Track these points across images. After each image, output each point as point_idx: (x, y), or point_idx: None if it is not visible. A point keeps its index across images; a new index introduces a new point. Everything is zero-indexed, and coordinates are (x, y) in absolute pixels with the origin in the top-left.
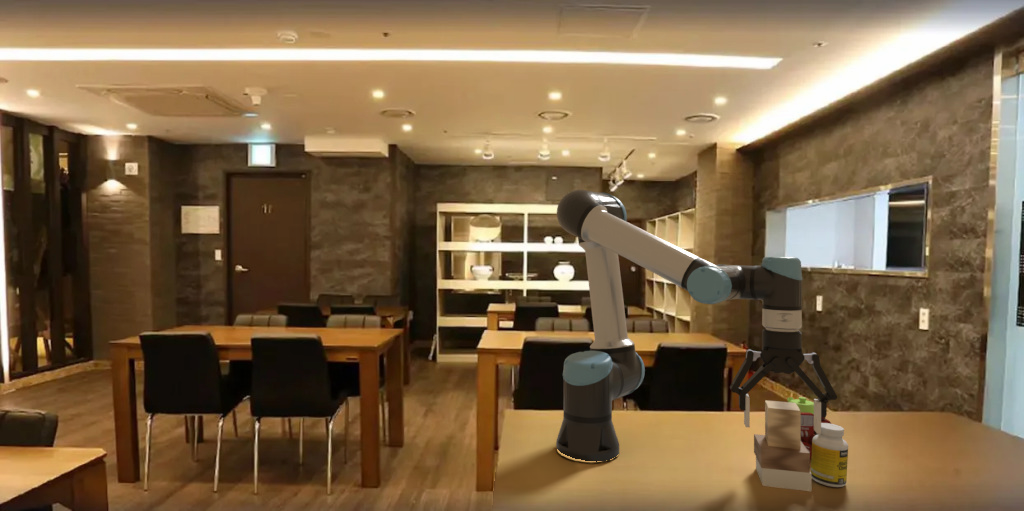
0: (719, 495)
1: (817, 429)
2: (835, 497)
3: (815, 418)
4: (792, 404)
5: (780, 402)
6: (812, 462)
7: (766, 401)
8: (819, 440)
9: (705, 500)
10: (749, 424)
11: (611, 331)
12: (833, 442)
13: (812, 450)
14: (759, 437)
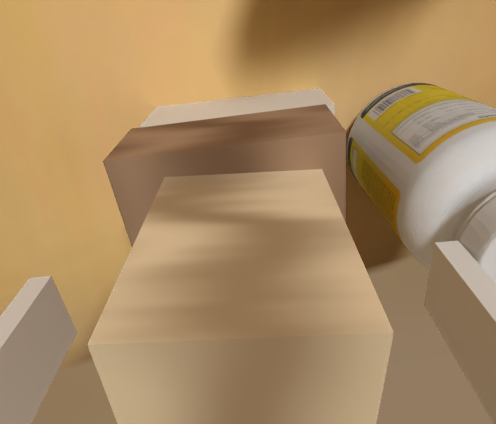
0: (91, 329)
1: (436, 323)
2: (380, 242)
3: (469, 343)
4: (343, 386)
5: (238, 366)
6: (364, 179)
7: (107, 376)
8: (426, 259)
9: (69, 358)
10: (69, 345)
11: None
12: None
13: (381, 195)
14: (138, 206)
